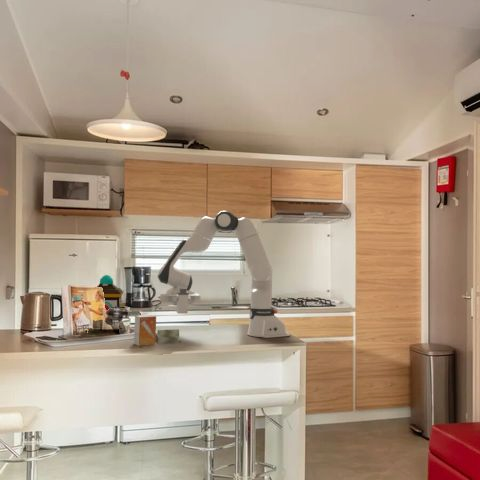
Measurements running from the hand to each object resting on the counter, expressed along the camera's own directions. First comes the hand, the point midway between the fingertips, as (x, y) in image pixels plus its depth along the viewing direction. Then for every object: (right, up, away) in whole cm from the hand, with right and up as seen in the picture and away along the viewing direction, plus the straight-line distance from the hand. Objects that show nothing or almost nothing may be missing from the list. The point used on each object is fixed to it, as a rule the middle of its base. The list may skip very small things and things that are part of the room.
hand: (182, 299), depth 219 cm
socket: (-7, -19, -5) cm, 21 cm away
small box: (-16, -19, -14) cm, 28 cm away
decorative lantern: (-44, -20, +20) cm, 52 cm away
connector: (0, -7, +1) cm, 7 cm away
